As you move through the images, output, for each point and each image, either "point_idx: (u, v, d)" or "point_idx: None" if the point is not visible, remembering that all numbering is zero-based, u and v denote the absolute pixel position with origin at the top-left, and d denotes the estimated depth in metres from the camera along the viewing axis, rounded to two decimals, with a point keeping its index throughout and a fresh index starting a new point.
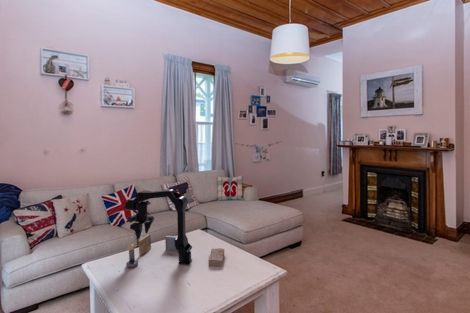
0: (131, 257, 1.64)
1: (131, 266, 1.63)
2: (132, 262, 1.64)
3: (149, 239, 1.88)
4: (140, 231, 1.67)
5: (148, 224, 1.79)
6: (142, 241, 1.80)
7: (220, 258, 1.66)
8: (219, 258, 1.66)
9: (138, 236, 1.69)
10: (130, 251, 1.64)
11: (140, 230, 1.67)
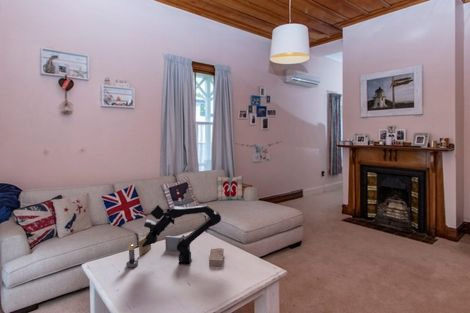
0: (131, 257, 1.64)
1: (131, 266, 1.63)
2: (132, 262, 1.64)
3: None
4: (151, 243, 1.60)
5: None
6: (142, 241, 1.80)
7: (220, 258, 1.66)
8: (219, 258, 1.66)
9: (144, 245, 1.61)
10: (130, 251, 1.64)
11: (152, 243, 1.59)
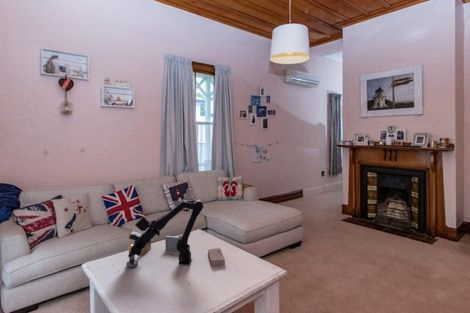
0: (131, 257, 1.64)
1: (131, 266, 1.63)
2: (132, 262, 1.64)
3: None
4: None
5: None
6: None
7: (222, 257, 1.67)
8: (221, 257, 1.67)
9: (130, 255, 1.63)
10: (130, 251, 1.64)
11: None
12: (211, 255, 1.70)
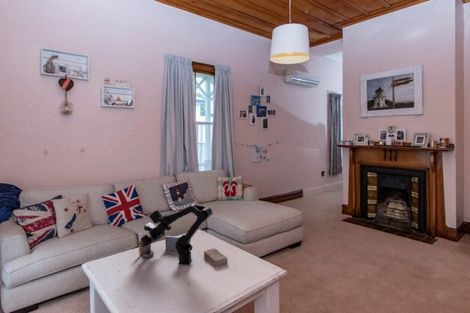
0: (147, 248, 1.77)
1: (145, 256, 1.76)
2: (147, 252, 1.77)
3: None
4: None
5: None
6: None
7: (224, 256, 1.68)
8: (223, 256, 1.68)
9: (143, 245, 1.74)
10: None
11: None
12: (211, 256, 1.69)
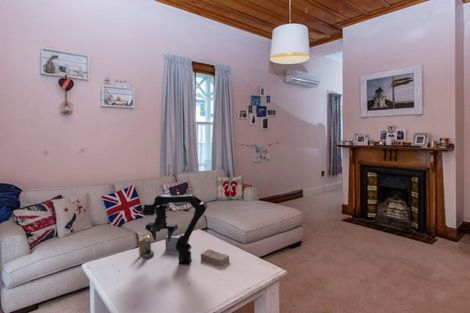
0: (147, 248, 1.77)
1: (145, 256, 1.76)
2: (147, 252, 1.77)
3: None
4: (173, 231, 1.71)
5: None
6: (142, 241, 1.80)
7: (225, 255, 1.70)
8: (224, 255, 1.70)
9: (170, 238, 1.69)
10: (146, 242, 1.77)
11: None
12: (213, 256, 1.68)
